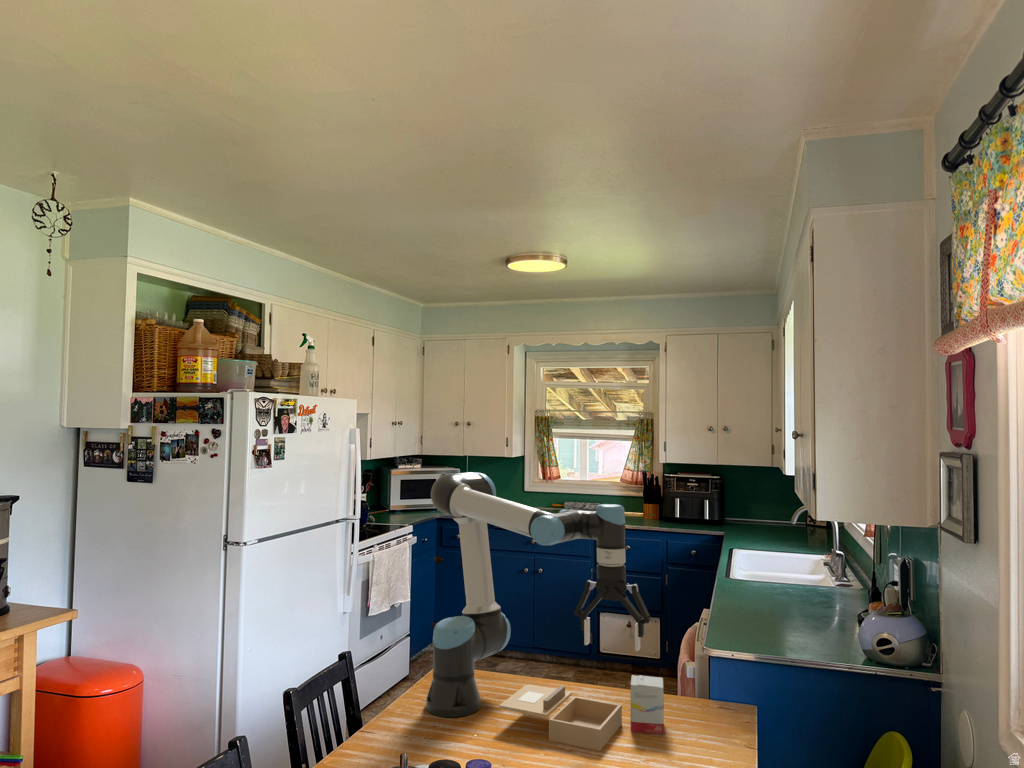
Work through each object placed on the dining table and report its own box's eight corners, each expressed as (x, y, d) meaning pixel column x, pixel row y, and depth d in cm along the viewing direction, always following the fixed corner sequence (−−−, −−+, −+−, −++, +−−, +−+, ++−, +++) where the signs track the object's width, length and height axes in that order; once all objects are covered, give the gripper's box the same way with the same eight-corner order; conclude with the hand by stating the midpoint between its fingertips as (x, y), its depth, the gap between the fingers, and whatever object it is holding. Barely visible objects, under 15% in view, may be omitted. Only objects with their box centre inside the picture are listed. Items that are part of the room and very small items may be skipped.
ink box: (664, 735, 176) (663, 687, 177) (630, 732, 178) (629, 684, 179) (663, 721, 185) (663, 675, 186) (631, 718, 186) (630, 673, 187)
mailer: (548, 740, 173) (548, 719, 173) (574, 715, 188) (574, 696, 189) (600, 751, 167) (600, 729, 167) (621, 724, 182) (621, 704, 183)
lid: (499, 708, 179) (499, 696, 180) (527, 686, 195) (527, 675, 195) (546, 717, 173) (546, 705, 174) (572, 694, 189) (571, 683, 189)
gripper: (561, 562, 185) (562, 644, 183) (655, 569, 175) (656, 656, 173) (570, 558, 191) (571, 637, 190) (661, 564, 182) (662, 648, 180)
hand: (612, 646), depth 181 cm, fingers open, 13 cm apart
